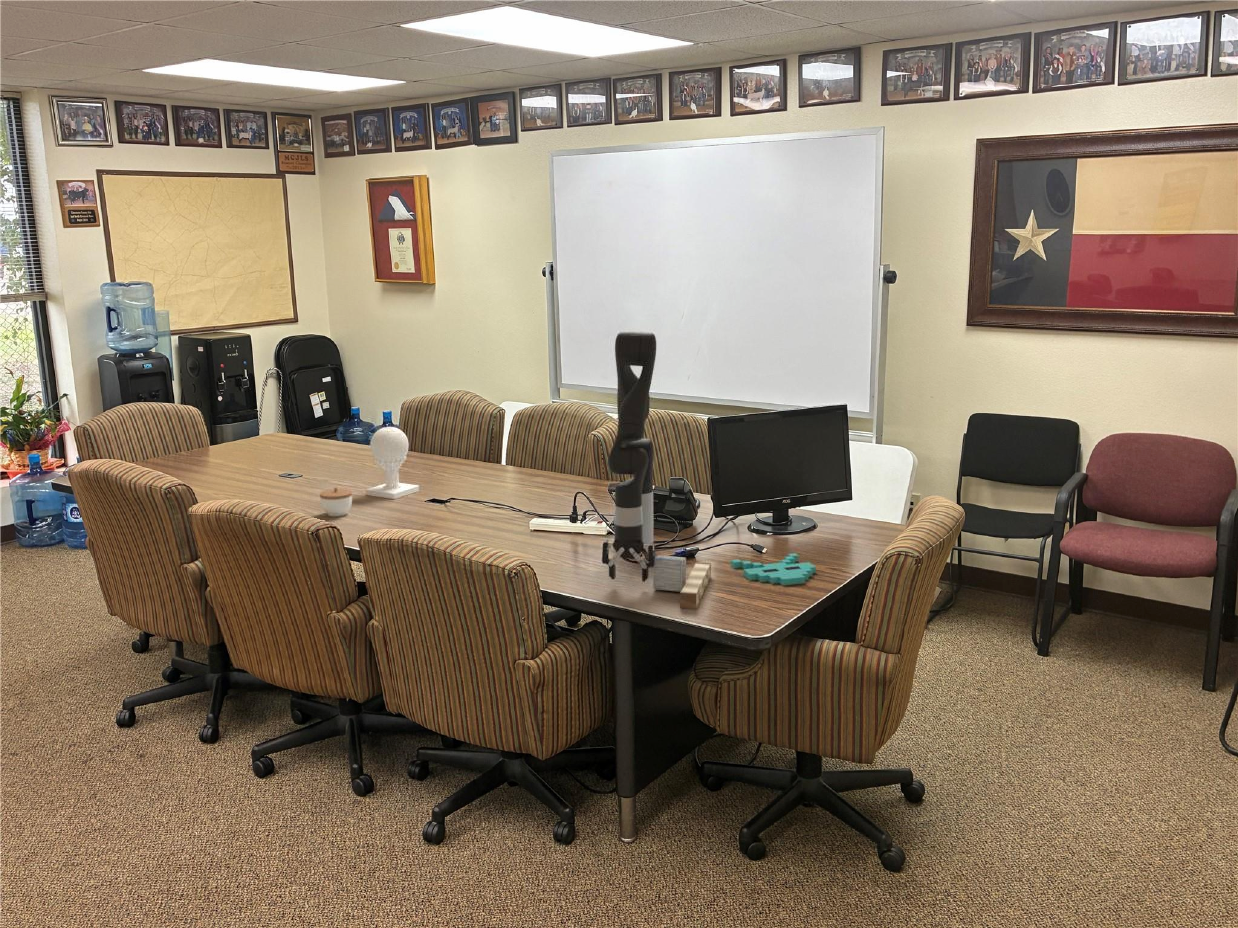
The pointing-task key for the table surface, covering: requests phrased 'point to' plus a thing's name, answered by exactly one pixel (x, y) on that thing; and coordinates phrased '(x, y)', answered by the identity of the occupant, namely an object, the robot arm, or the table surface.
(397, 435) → the trophy
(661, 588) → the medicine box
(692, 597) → the maple rail
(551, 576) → the table surface
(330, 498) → the lidded jar
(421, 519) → the table surface
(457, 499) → the table surface
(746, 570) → the alien figure
